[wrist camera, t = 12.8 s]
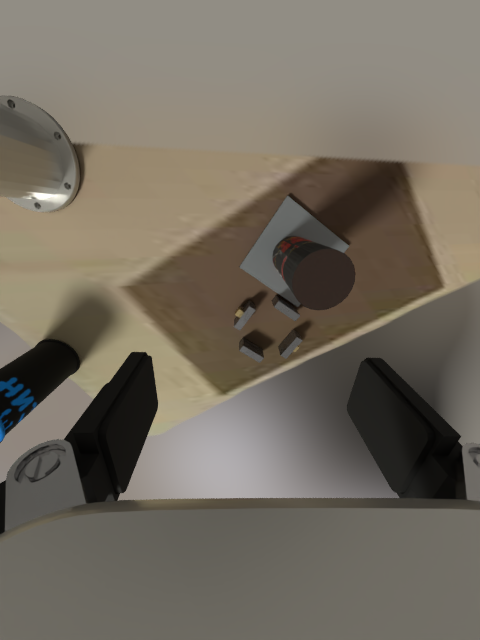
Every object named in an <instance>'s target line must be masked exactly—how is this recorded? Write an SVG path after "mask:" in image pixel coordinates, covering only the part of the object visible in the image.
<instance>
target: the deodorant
mask: <svg viewBox="0 0 480 640" xmlns="http://www.w3.org/2000/svg"><path fill="white" fill-rule="evenodd" d="M272 258H273V264H274V266H275V268H276V269H277V271H278V272H279V274H280V275H281V277H282V278H283V280H284V281H285V282H286V284H287V285H288V287H289V288H290V290H291V291H292V293H293V294H294V296H295V297H296V299H297V300H298V302H299V303H301V304H302V305H303V306H305V307H307V308H309V309H313V310H325V309H329V308H332V307H334V306H336V305H338V304H339V303H341V302H342V301H343V300H344V299H345V298H346V297H347V296H348V294H349V293H350V291H351V290H352V287H353V285H354V282H355V269H354V265H353V263H352V261H351V259H350V258H349V257H348V256H347V255H346V254H345V253H343V252H341V251H339V250H336V249H333V248H330V247H327V246H324V245H322V244H319V243H316V242H313V241H310V240H307V239H304V238H301V237H297V236H289V237H286V238H284V239H282V240H281V241H280V242H279V243H278V244H277V245H276V246H275V249H274V251H273V256H272Z"/></svg>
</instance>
